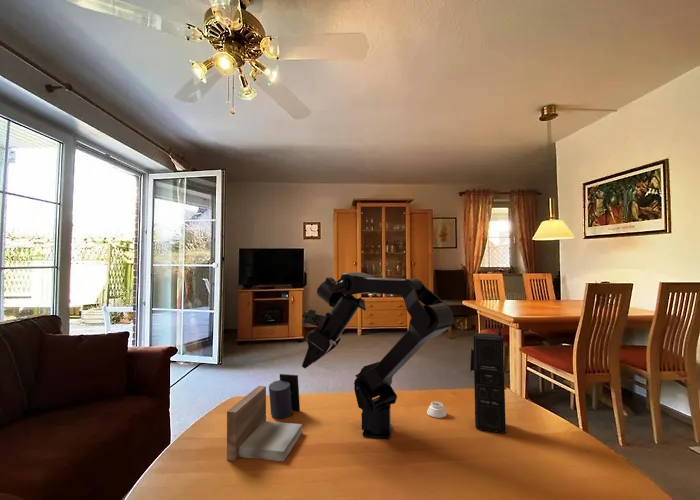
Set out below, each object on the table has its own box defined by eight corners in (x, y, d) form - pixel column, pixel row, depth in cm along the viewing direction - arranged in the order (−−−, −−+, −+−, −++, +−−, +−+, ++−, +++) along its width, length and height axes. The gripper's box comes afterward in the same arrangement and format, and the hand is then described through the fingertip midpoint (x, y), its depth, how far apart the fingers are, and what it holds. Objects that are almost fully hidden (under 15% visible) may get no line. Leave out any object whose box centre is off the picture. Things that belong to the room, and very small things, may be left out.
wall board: (303, 429, 83) (303, 388, 84) (280, 465, 69) (280, 415, 69) (258, 425, 85) (258, 385, 86) (226, 459, 71) (226, 411, 71)
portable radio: (470, 429, 83) (468, 326, 84) (471, 418, 88) (469, 322, 89) (506, 435, 80) (503, 328, 81) (504, 423, 86) (502, 324, 86)
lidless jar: (435, 420, 88) (450, 417, 90) (434, 409, 88) (450, 405, 90) (423, 412, 93) (438, 409, 94) (423, 401, 93) (438, 399, 95)
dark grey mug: (285, 405, 97) (284, 370, 97) (300, 410, 94) (299, 374, 93) (265, 417, 91) (263, 380, 90) (280, 424, 88) (279, 385, 87)
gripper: (324, 299, 102) (295, 342, 101) (308, 297, 83) (272, 350, 82) (354, 320, 99) (325, 365, 98) (344, 323, 81) (308, 378, 80)
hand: (308, 364), depth 90 cm, fingers open, 9 cm apart
